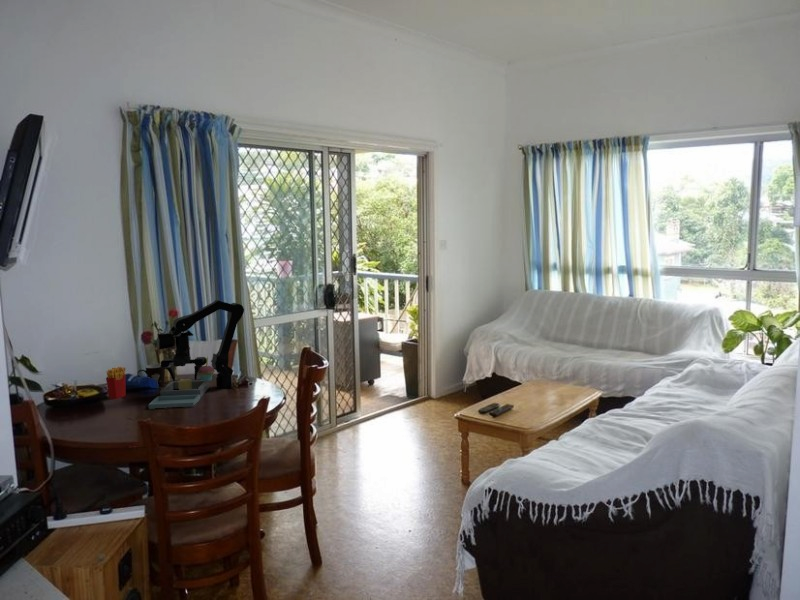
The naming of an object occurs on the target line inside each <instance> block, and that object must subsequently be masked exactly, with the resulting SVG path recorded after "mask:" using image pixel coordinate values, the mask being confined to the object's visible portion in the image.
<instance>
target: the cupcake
mask: <svg viewBox="0 0 800 600" xmlns="http://www.w3.org/2000/svg"><path fill="white" fill-rule="evenodd" d="M208 357H209V356H208V355H207V357H206V362H207V363H206V364H205V365H203V366H202V367H200V370H199V373H198V377H199V379H200V380H209V382H211V381H212V378H213V375H214V373H215V371H216V370H215V369H214V368H213V367H212V365H211V366H210V365H208V363H209V358H208Z"/></svg>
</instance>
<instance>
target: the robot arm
mask: <svg viewBox="0 0 800 600" xmlns="http://www.w3.org/2000/svg"><path fill="white" fill-rule="evenodd" d="M220 310H222V311H225V312H227V313H226V318H227V319H226V320H227V321H226V326H225V329H224V332H223V336H222V339H221V341H220V346H219V350H218V351H217V352H216V353H213V354H212V359H211V360H210V362H211V367H212V368H214V370H215V371H216V373H217V374H216V375H217V376H216V378H215V381H216V382H215V383H216V388H217V389H232V388H233V386H232V383H233V384H234V382H233V372H234V369H233V368H232V367H229V352H230V349H231V346H232V342H233V338H234V336H235V332H236V328H237V325H238V323H239V322H240V321H241V319H242V317H243V315H244V312H245V308H244V306H243V305H242V304H240V303H237V302H231V303H229V302H226V301H222V300H220V299H216V300H215V299H214V301H213V302H210V303H209V304H207V305H205V306H203V307H201V308H200V309H198V310H196V311H195V312H193V313H189V314H187V315H183V316H180V317H177V318H175V319H174V320H173V323H172V327H171V329H170V330H169V331H168V333H167V332H166V333H157V337H156V347H157V349H158V350H165V349H172V348H173V347H174V346H175V354H174V356H173V358H172V357H171V358H170V357H169V358H163V359H162V360H161V361H160V363H159V364H161V367H164V369H165V370H167V371H168V373H169V374H170V376H171V379H172V382H173V381H174V382H175V381H176V372H175V368H176V367H185V366H186V365H189V364H191V365H192V364H193V365H194V381H196V380H198V377H199V375H198V373H199V370H200V367H202V366H206V363H207V362H206V359H207V357H205V356H197V357H195V358H193V359H191V352H190V350H191V347H190V338H189V337H193V336H194V334H193V332H192V331H190V330H189V329H191V328H192V327H193V326H194V325H196V324H195V323H198V322H199V321H202V320H203V319H205V318H207V317H209V316H210V315H212V314H213V313H215V312H217V311H220ZM231 387H232V388H231Z"/></svg>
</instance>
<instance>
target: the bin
mask: <svg viewBox="0 0 800 600" xmlns="http://www.w3.org/2000/svg"><path fill="white" fill-rule="evenodd" d="M178 381H179V380H177V381H176V380H175V382H174V381H173V380H172V381H170V382H168V383H167V385H164V387H162V389H161V390H160V391H159V396H179V395H200V398H202V396H203V395H204V394H205V393H206V392H207V390H208V389H210V381H209V380H199V379H196V381H195V380H191V384H192V389H184V390H173V389H179V385H178ZM197 388H198V389H197Z"/></svg>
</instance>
